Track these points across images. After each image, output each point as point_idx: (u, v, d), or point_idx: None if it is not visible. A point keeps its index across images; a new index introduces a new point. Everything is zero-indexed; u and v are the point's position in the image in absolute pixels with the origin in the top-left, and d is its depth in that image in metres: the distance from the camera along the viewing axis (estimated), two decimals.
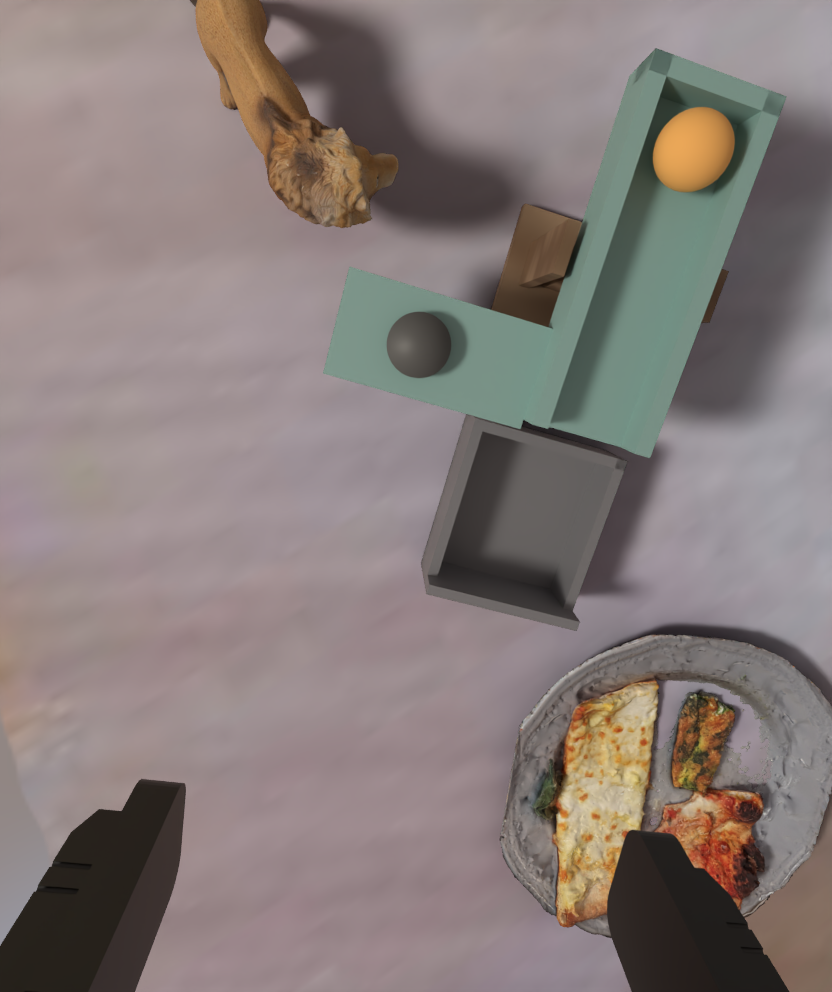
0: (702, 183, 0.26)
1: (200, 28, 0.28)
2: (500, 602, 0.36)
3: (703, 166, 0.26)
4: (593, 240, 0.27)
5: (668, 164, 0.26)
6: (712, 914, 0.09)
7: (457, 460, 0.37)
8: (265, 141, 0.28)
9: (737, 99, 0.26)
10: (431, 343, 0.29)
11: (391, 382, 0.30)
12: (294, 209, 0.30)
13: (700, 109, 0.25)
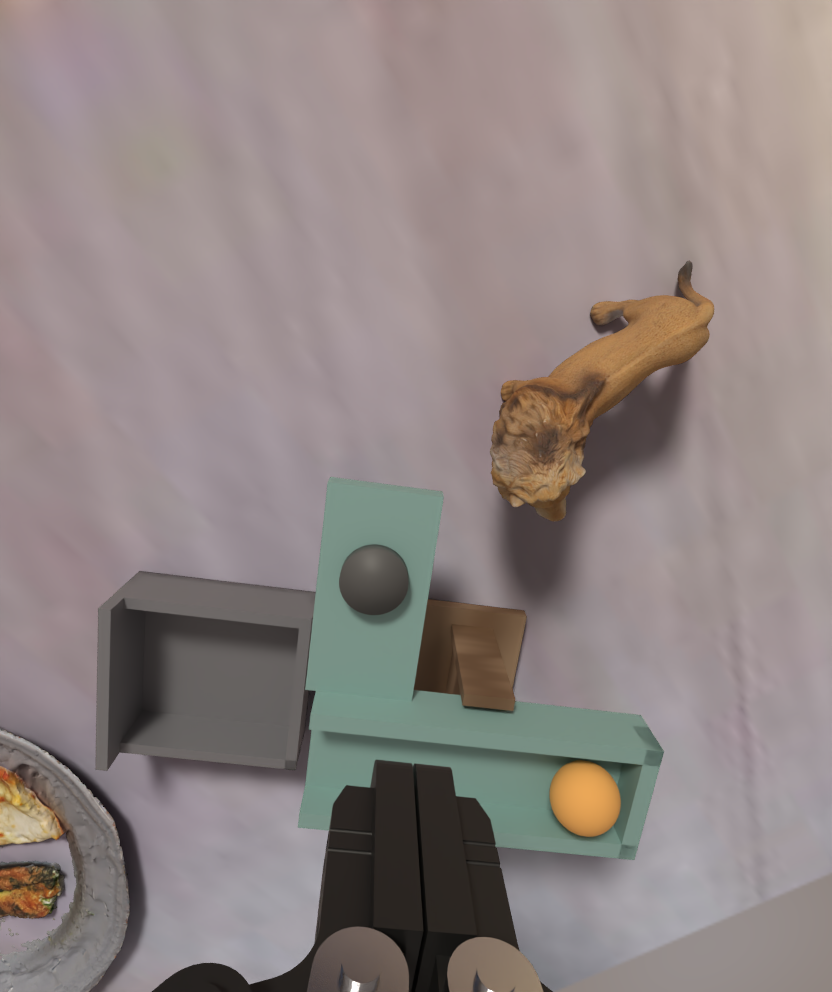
0: (558, 817, 0.28)
1: (661, 305, 0.27)
2: (108, 687, 0.31)
3: (572, 819, 0.28)
4: (498, 734, 0.28)
5: (571, 786, 0.28)
6: (452, 830, 0.10)
7: (264, 600, 0.34)
8: (564, 384, 0.27)
9: (628, 824, 0.29)
10: (377, 595, 0.27)
11: (330, 554, 0.27)
12: (502, 417, 0.28)
13: (618, 803, 0.28)
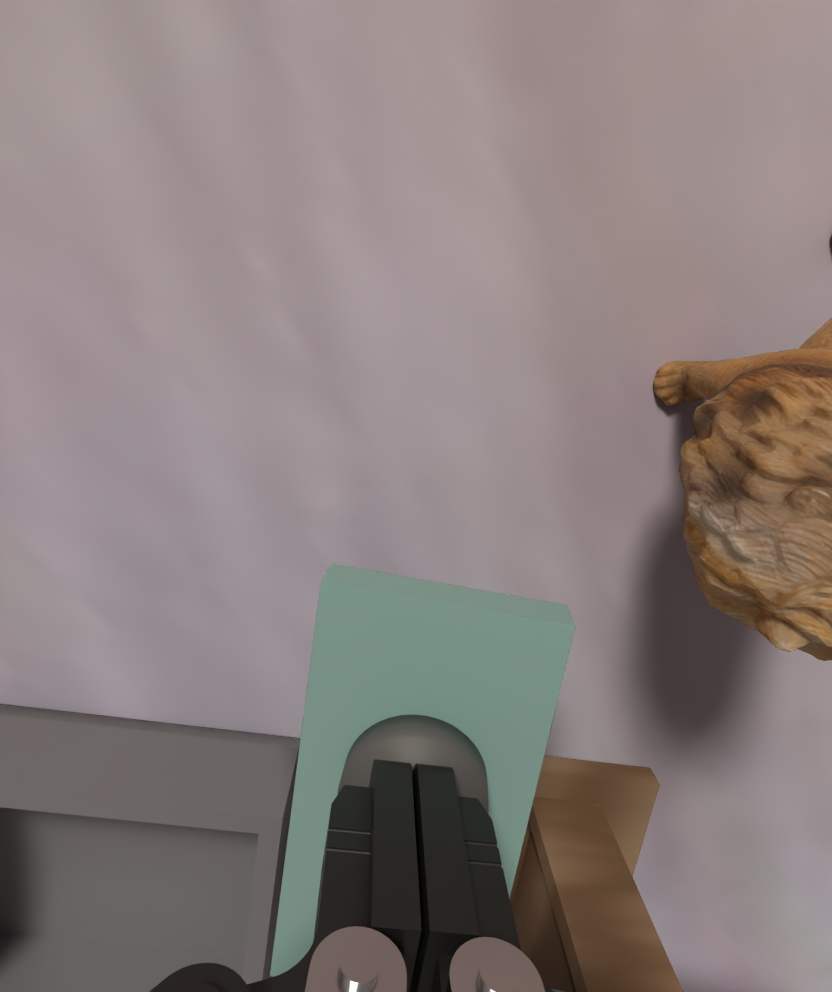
0: None
1: None
2: None
3: None
4: None
5: None
6: (453, 830, 0.10)
7: (197, 766, 0.19)
8: None
9: None
10: None
11: (323, 730, 0.13)
12: (725, 435, 0.13)
13: None
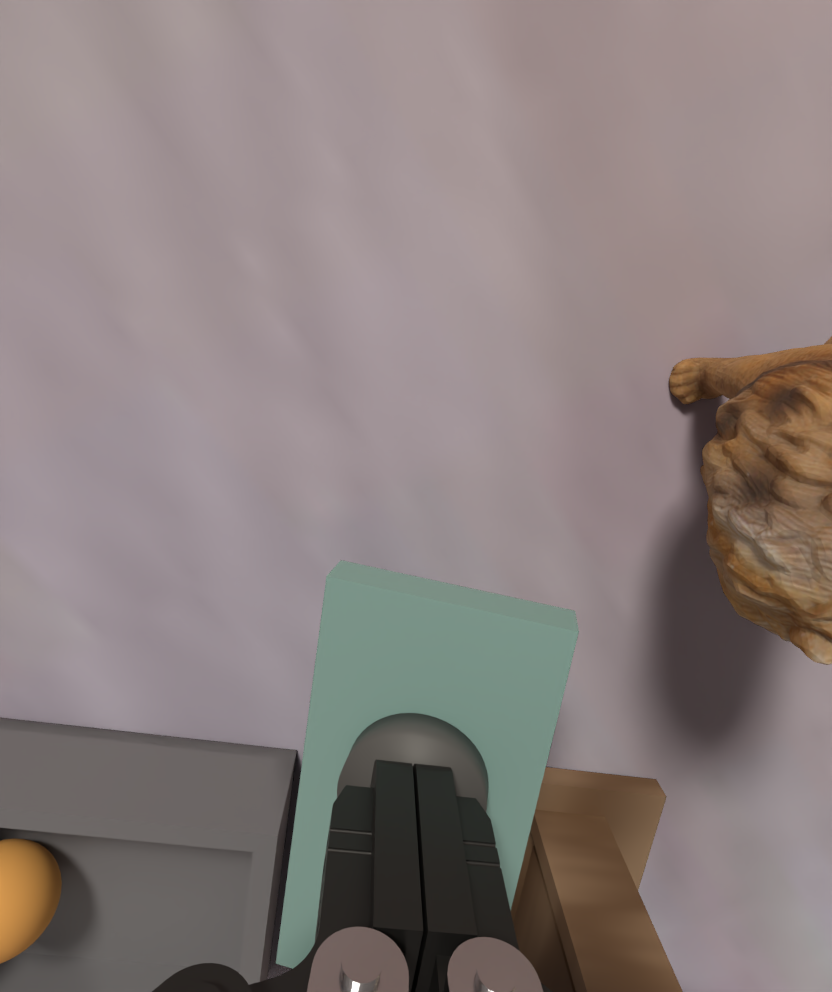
0: None
1: None
2: None
3: None
4: None
5: (0, 841, 0.19)
6: (452, 830, 0.10)
7: (189, 781, 0.18)
8: None
9: None
10: None
11: (328, 723, 0.13)
12: (753, 436, 0.12)
13: None
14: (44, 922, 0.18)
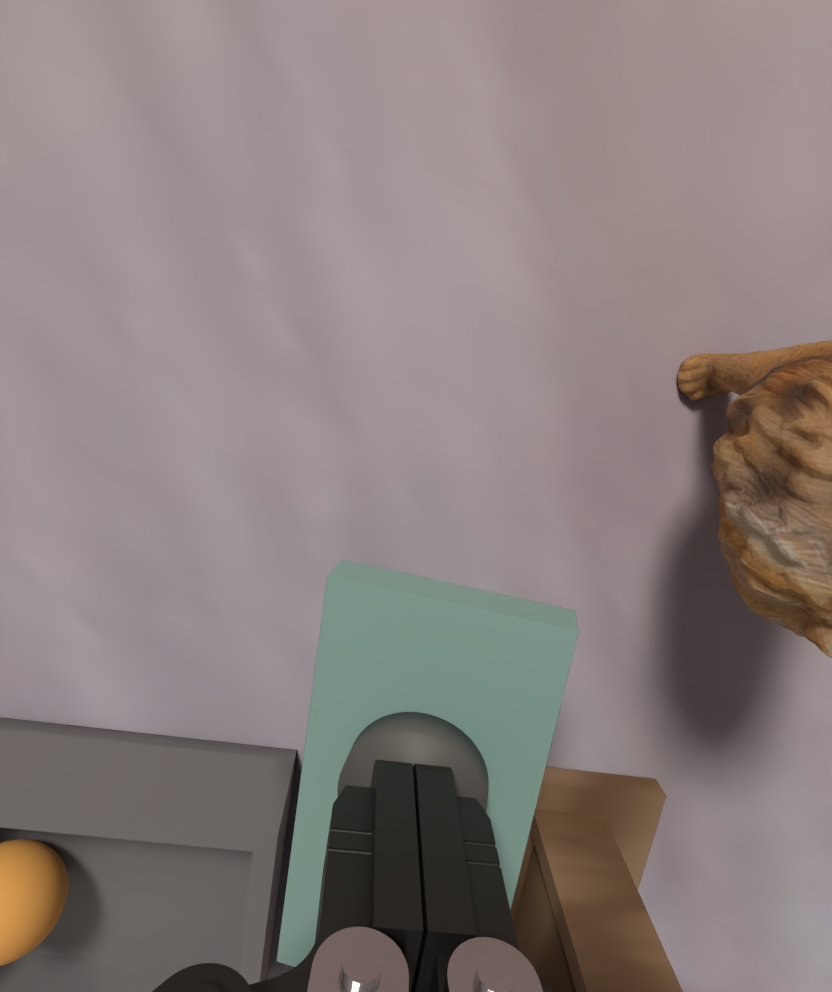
0: None
1: None
2: None
3: None
4: None
5: None
6: (452, 830, 0.10)
7: (189, 781, 0.18)
8: None
9: None
10: None
11: (328, 721, 0.13)
12: (765, 432, 0.12)
13: None
14: (56, 917, 0.18)
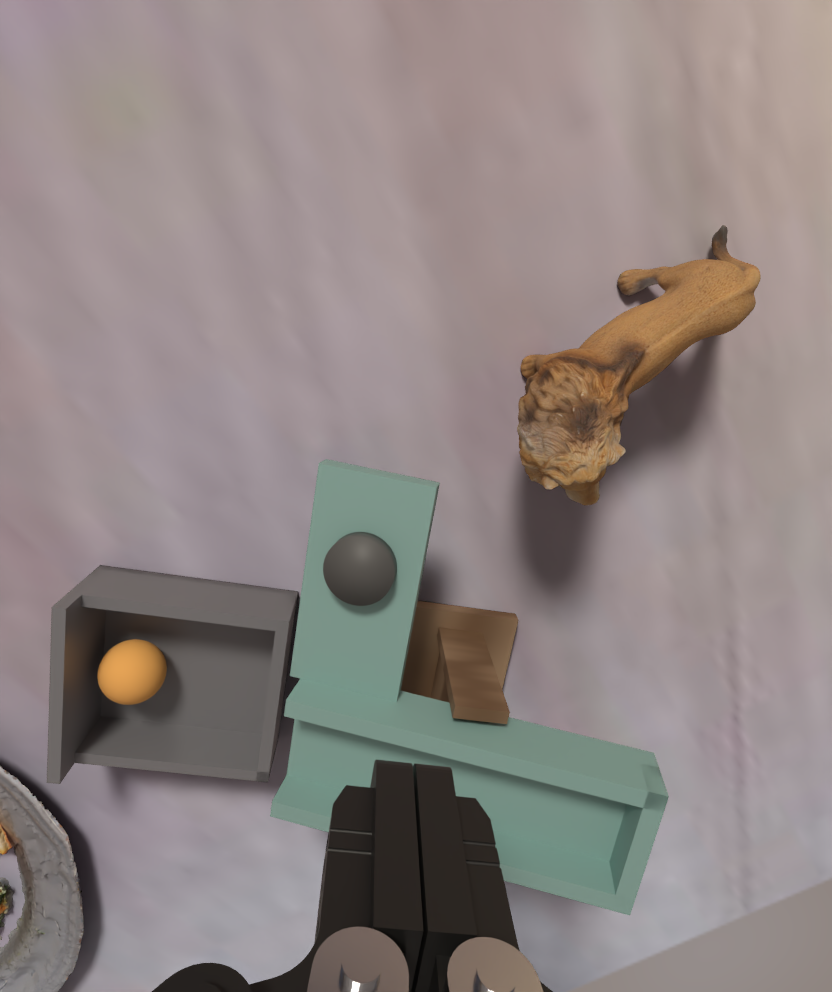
0: None
1: (705, 269, 0.25)
2: (62, 693, 0.29)
3: None
4: (479, 749, 0.26)
5: None
6: (452, 830, 0.10)
7: (237, 599, 0.31)
8: (600, 355, 0.25)
9: (624, 873, 0.26)
10: (361, 585, 0.26)
11: (318, 539, 0.27)
12: (531, 392, 0.25)
13: (109, 673, 0.30)
14: (164, 678, 0.32)
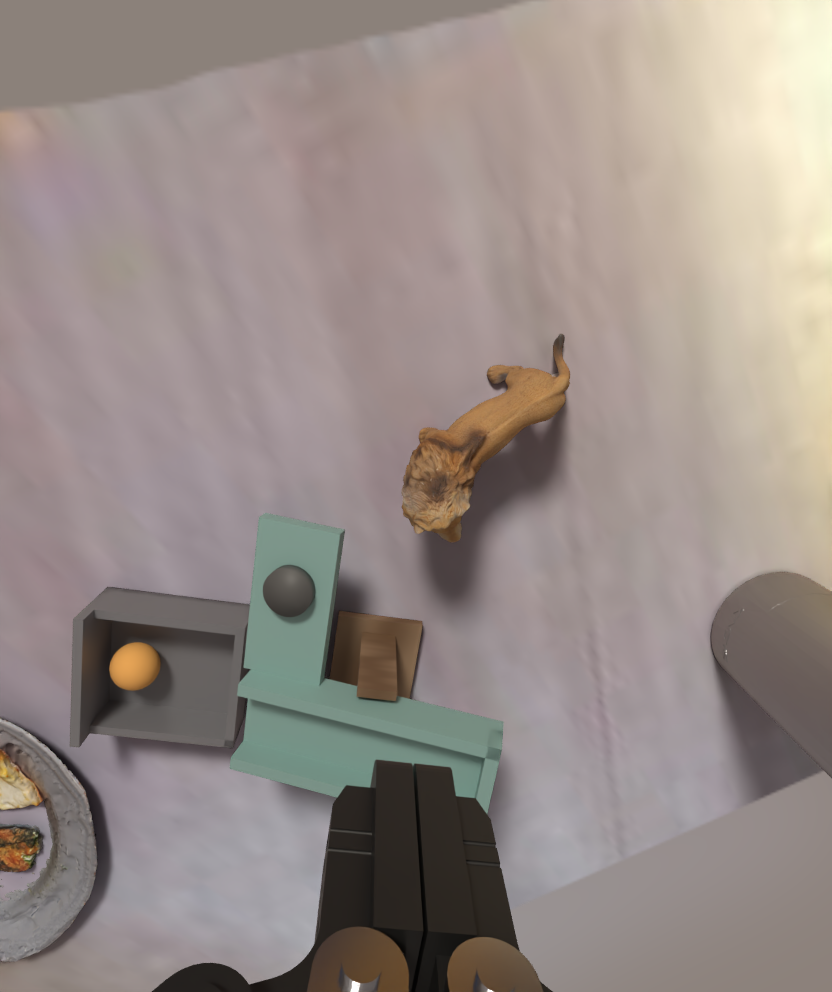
0: None
1: (527, 378, 0.35)
2: (81, 680, 0.40)
3: None
4: (372, 717, 0.36)
5: None
6: (452, 830, 0.10)
7: (208, 611, 0.42)
8: (455, 438, 0.36)
9: None
10: (289, 602, 0.37)
11: (260, 569, 0.38)
12: (410, 464, 0.36)
13: (120, 668, 0.41)
14: (159, 669, 0.43)
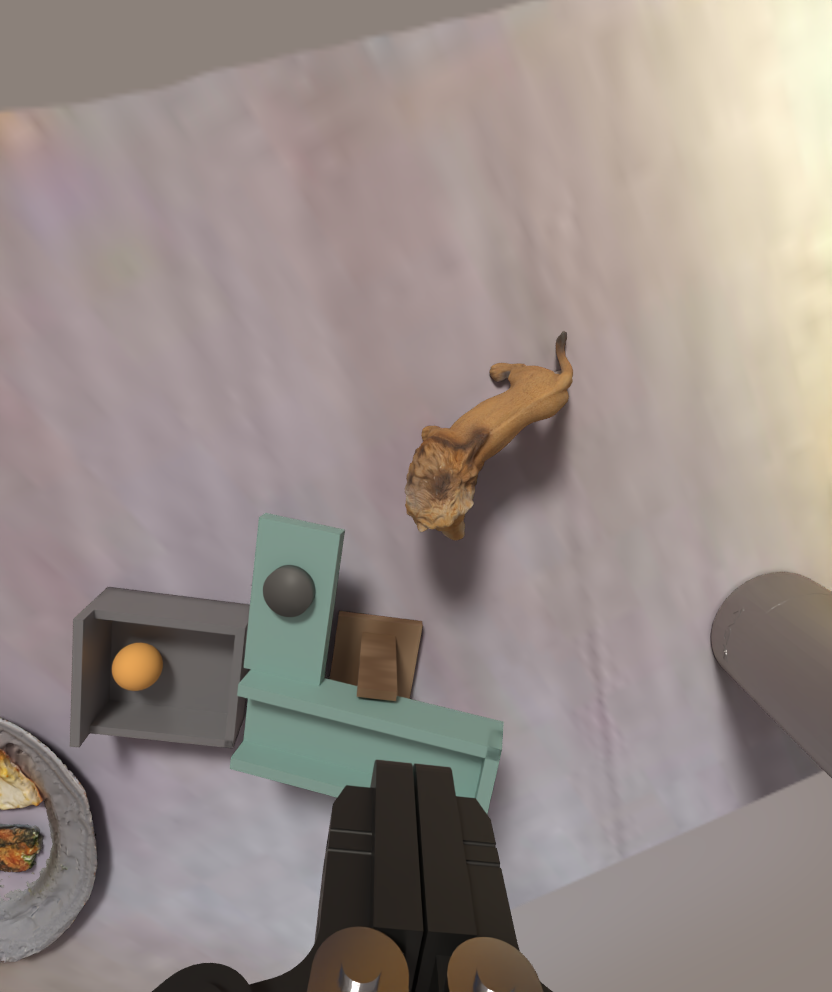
0: None
1: (530, 375, 0.35)
2: (81, 681, 0.40)
3: None
4: (372, 718, 0.36)
5: None
6: (452, 830, 0.10)
7: (208, 611, 0.42)
8: (458, 436, 0.36)
9: None
10: (289, 602, 0.37)
11: (260, 570, 0.38)
12: (413, 462, 0.36)
13: (125, 669, 0.41)
14: (162, 668, 0.43)
